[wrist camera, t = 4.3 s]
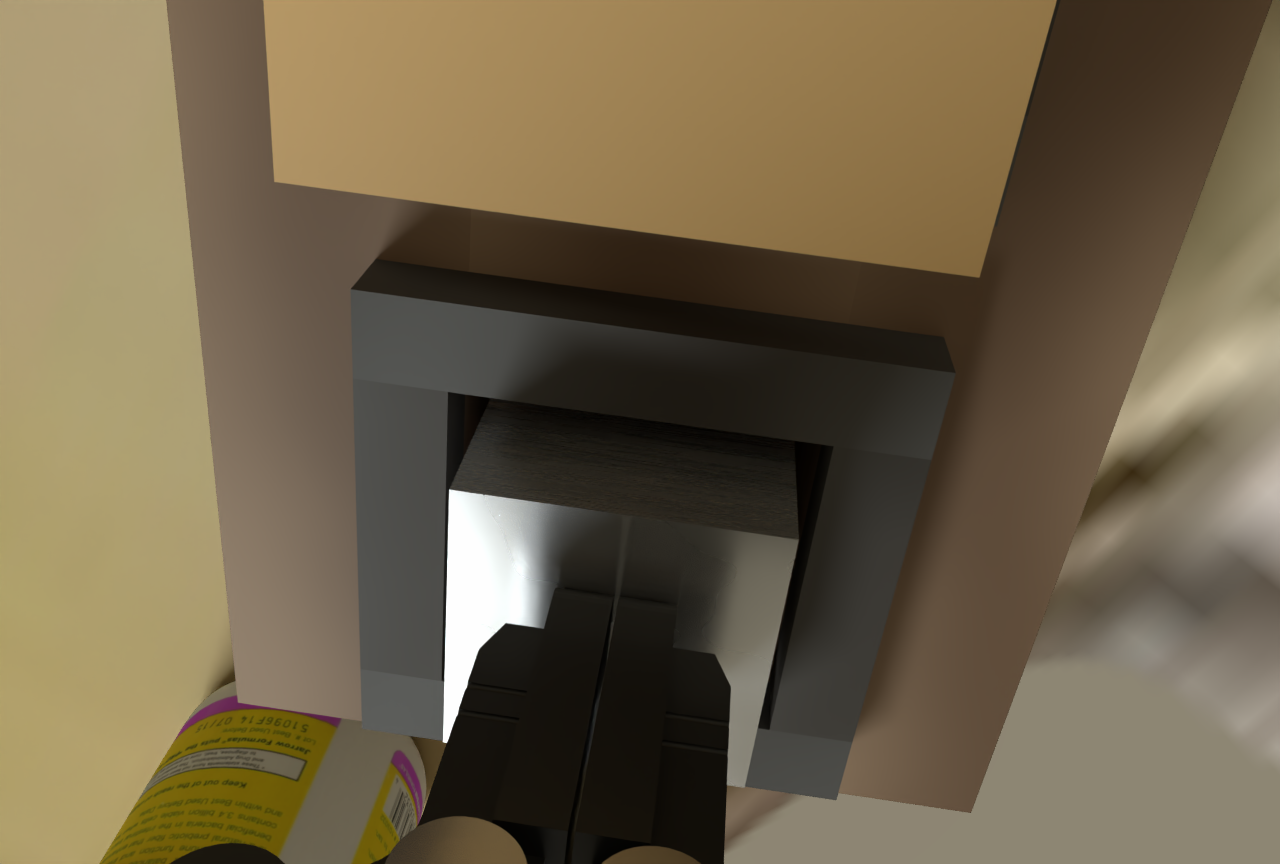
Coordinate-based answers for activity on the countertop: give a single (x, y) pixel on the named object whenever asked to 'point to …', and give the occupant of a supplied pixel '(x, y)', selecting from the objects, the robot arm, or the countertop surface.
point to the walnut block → (698, 394)
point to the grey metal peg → (624, 538)
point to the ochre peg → (671, 114)
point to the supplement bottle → (276, 788)
